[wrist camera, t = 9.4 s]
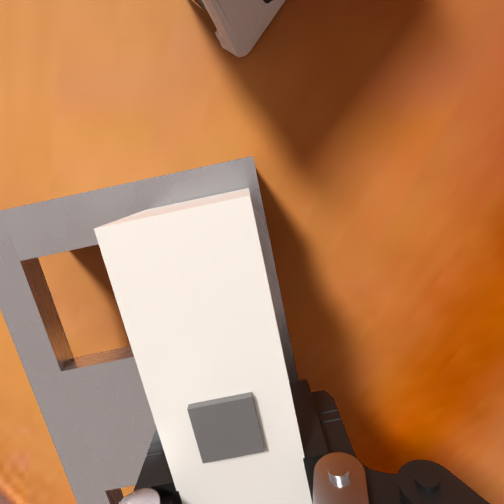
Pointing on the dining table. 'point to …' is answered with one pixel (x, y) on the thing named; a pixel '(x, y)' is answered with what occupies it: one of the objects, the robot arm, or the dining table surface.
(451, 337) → the dining table surface
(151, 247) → the power strip
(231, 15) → the electrical switch
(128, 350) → the grey slotted stand
